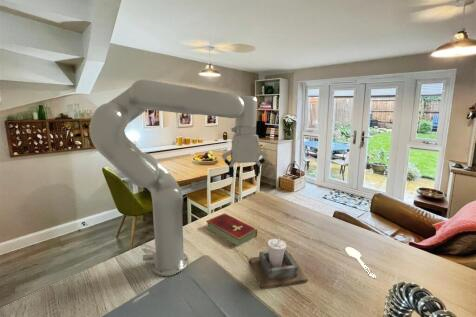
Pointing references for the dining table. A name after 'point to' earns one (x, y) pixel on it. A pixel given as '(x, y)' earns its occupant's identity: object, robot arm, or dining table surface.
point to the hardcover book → (231, 229)
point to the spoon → (357, 255)
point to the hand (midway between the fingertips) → (244, 175)
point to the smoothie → (276, 251)
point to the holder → (277, 271)
